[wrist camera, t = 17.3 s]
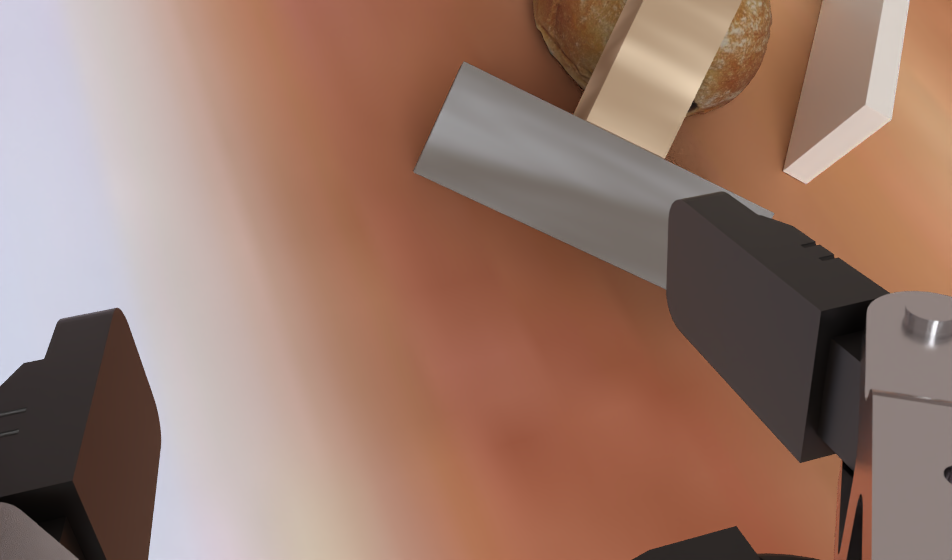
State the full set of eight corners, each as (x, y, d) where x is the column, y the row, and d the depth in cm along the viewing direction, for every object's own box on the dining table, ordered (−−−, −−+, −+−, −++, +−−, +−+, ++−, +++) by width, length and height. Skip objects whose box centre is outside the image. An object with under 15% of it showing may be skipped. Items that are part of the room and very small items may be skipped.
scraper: (725, 317, 29) (975, -175, 27) (413, 172, 28) (655, -363, 26) (696, 301, 32) (919, -143, 30) (413, 170, 30) (630, -310, 28)
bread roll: (511, 137, 37) (604, 109, 29) (500, -102, 36) (592, -193, 29) (699, 136, 40) (824, 111, 33) (692, -81, 40) (818, -157, 32)
